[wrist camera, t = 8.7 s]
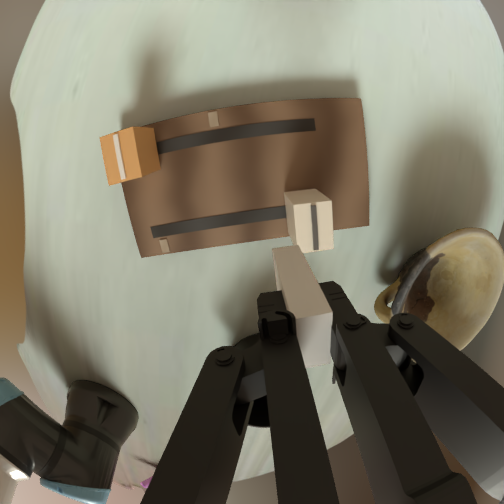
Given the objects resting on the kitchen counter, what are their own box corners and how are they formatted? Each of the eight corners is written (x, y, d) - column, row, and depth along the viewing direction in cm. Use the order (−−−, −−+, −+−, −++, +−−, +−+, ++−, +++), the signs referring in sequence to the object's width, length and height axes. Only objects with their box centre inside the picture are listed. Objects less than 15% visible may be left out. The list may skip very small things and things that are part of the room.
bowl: (466, 195, 27) (516, 217, 18) (455, 304, 34) (488, 339, 25) (356, 219, 28) (398, 255, 20) (362, 339, 35) (385, 388, 27)
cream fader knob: (288, 232, 26) (298, 255, 21) (283, 192, 25) (293, 205, 20) (318, 228, 26) (334, 249, 21) (315, 188, 25) (332, 201, 20)
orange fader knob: (132, 176, 23) (107, 186, 19) (124, 136, 22) (98, 137, 17) (160, 169, 23) (141, 177, 19) (153, 127, 22) (131, 126, 17)
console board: (147, 250, 29) (140, 258, 27) (120, 135, 24) (111, 135, 22) (361, 219, 28) (369, 226, 26) (353, 100, 23) (361, 98, 21)
